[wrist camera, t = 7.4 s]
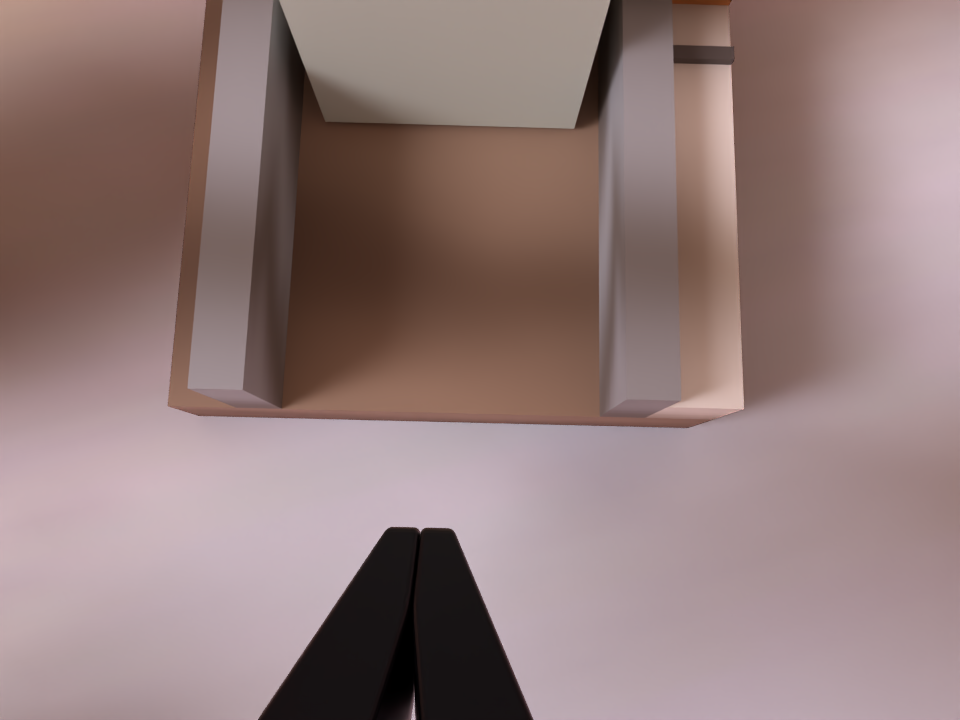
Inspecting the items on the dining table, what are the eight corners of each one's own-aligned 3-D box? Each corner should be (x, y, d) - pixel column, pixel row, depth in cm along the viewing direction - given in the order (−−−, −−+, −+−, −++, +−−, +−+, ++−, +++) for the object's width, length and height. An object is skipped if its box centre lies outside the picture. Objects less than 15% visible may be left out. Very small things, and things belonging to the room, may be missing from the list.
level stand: (687, 427, 19) (763, 402, 14) (198, 415, 19) (104, 386, 14) (672, -198, 22) (729, -396, 17) (254, -211, 22) (192, -414, 17)
